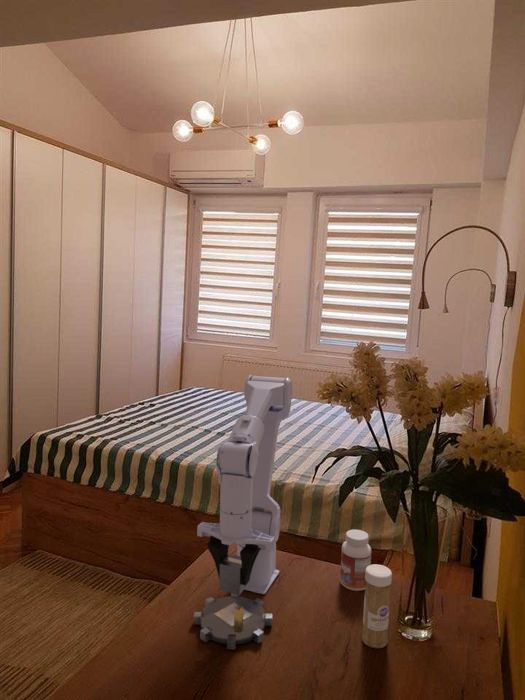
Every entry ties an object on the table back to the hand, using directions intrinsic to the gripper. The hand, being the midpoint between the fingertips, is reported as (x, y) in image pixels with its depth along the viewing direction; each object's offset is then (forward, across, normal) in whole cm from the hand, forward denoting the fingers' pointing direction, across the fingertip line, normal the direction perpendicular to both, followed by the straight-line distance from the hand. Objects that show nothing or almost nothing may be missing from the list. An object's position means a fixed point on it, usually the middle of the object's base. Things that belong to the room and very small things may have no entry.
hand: (234, 579), depth 96 cm
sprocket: (+9, 0, 0) cm, 9 cm away
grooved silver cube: (+1, 0, 0) cm, 1 cm away
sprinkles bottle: (+9, +25, +6) cm, 27 cm away
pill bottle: (+9, +18, +23) cm, 31 cm away
